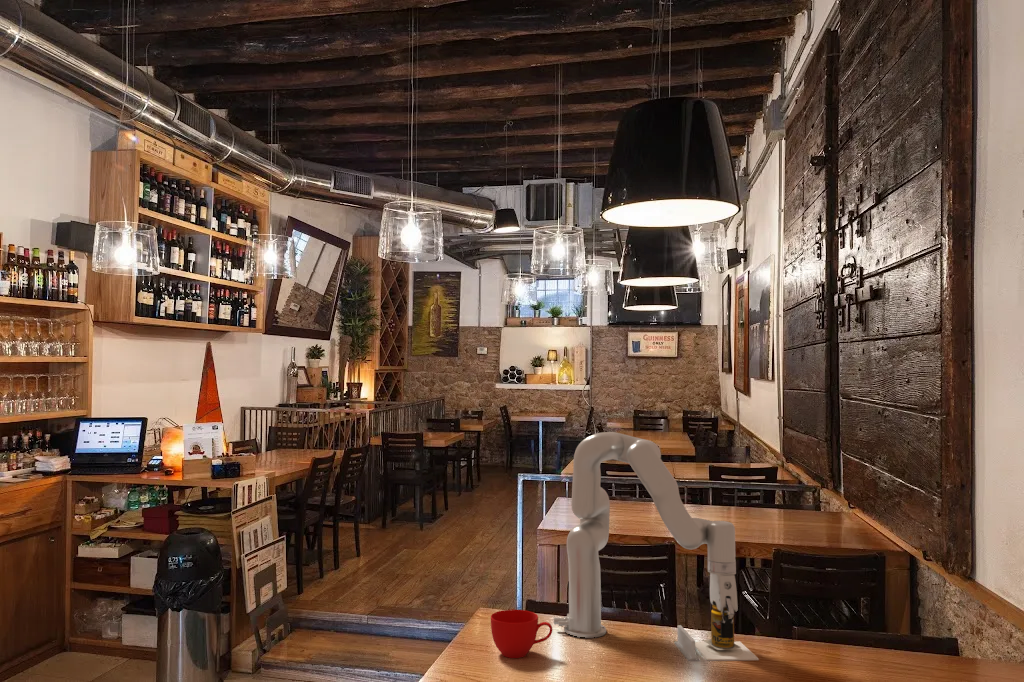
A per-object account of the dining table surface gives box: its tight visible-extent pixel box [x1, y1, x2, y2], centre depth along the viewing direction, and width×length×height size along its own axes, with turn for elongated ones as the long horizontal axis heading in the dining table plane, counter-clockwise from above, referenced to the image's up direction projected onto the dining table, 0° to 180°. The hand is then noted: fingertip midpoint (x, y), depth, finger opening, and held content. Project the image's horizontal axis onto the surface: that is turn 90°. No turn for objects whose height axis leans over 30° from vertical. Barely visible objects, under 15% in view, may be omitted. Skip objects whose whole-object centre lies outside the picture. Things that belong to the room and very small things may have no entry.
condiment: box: [701, 601, 742, 650], centre depth 197 cm, size 7×8×12 cm
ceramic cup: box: [490, 609, 553, 659], centre depth 193 cm, size 13×17×10 cm
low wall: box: [673, 624, 700, 662], centre depth 195 cm, size 3×14×5 cm, turn 2°
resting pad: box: [695, 641, 760, 662], centre depth 196 cm, size 14×14×1 cm
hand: (722, 632), depth 196 cm, fingers closed on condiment, 6 cm apart
